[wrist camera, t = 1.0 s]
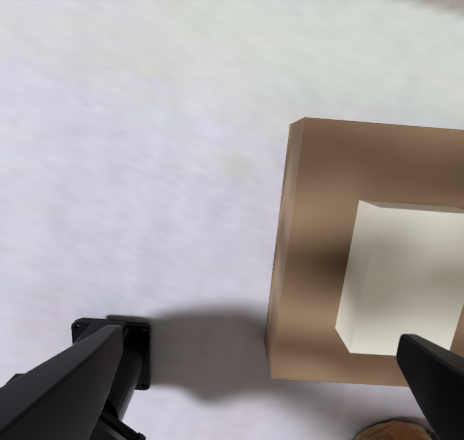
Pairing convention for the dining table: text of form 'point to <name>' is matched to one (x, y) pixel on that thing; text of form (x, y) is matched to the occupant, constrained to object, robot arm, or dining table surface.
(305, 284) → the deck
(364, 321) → the white rectangular block
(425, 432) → the bread roll
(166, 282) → the dining table surface
